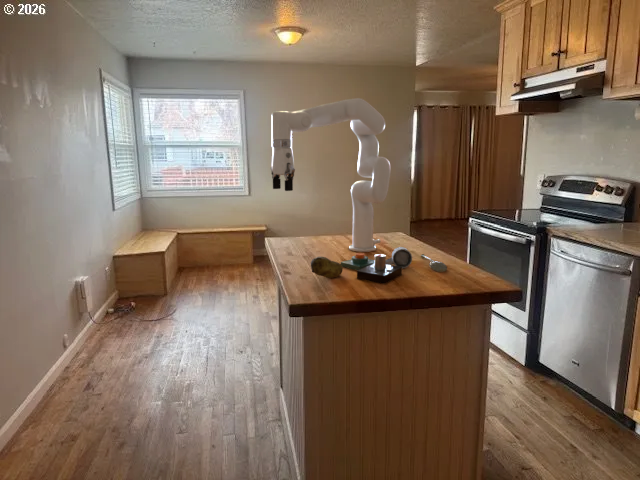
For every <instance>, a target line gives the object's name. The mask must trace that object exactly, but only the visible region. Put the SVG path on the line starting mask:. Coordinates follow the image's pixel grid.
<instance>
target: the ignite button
mask: <svg viewBox="0 0 640 480" xmlns="http://www.w3.org/2000/svg"><path fill="white" fill-rule="evenodd" d="M365 254H366V253H365V252H357V253H355V256H356V257H355V258H358V259H363V258H365V256H366V255H365Z"/></svg>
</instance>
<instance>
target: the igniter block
mask: <svg viewBox="0 0 640 480" xmlns="http://www.w3.org/2000/svg"><path fill="white" fill-rule="evenodd" d="M355 257H356V255H352V256H351V259H347V260H342V261H340V264H341V265H342V267H343V268H347V269H350V270H354V271H358V270H360V269H363V268H365V267H367V266H369V265H372V264H374V263H375V259H371V258H369V256H367V255H365V258H363V259H358V258H355Z"/></svg>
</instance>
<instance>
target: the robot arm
mask: <svg viewBox="0 0 640 480" xmlns="http://www.w3.org/2000/svg"><path fill="white" fill-rule="evenodd" d="M348 121H350V129H351V131H352V132H353V133H354V135H355V136H356V138H357V140H358V143H359V151H358V159H357V167H356V168H357V169H356V170H357V171H356V172H357V175H358V176H360V177H362V178H367V179H372V180H363V179H362V180H357V181H355V182H354V183H353V184H352V185H351V189H350V196H351V203H352V233H351V234H352V243H351V244H350V245H349V246H348V249H349V250H350V251H352V252H357V253H368V252H369V253H370V252H375V251H377V246H376V244H377V245H378V244H381V242H382V241H381V239H380V238H378V239H375V238H374V219H375V218H374V217H375V216H374V215H375V209H374V206H373V204H377V205H378V204H382V203H384V201H385V200H386V199H387V196H388V193H389V186H390V179H391V171H392V169H391V163H390V161H389V159H387V158H386V157H384V156H379V148H380V145H379V144H380V143H379V141H378V138H377V136H376V135H380V134H381V133H383V132H384V131H385V128H386V120H385V118H384V116H383V115H382V114H381V112H379V111H378V110H377V109H375V107H374V106H373V105H371V104H370V103H369V102H368V101H367V100H365V99H364V98H360V97H355V98H349V99H342V100H338V101H333V102H329V103H324V104H320V105H316V106H312V107H308V108H303V109H298V110H293V111H287V110H279V111H278V110H276V111H275V110H274V111H273V112H272V113H271V149H272V156H271V167H270V171H271V178H272V189H273V190H280V189H281V186H282V185H281V184H282V183H281V176H284V179H285V180H284V191H285V192H291V191H293V190H294V177H295V171H296V169H295V159H294V152H293V138H292V137H293V135H292V134H293V133H301V132H302V133H303V132H306V131H308V130H310V128H321V127H322V128H323V127H328V126H332V125H336V124H340V123H343V122H348Z"/></svg>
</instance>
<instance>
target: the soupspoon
mask: <svg viewBox="0 0 640 480" xmlns="http://www.w3.org/2000/svg"><path fill="white" fill-rule="evenodd" d="M420 258H422V259H424V258H425V259H427V260H429V261H430V263H428V266H429V267H430V269H432V270H433V271H436V272H438V273H439V272H440V273H441V272H442V273H443V272H446V271H447V270H448V266H447V264H445V263H443V261H437V260H435V261H434V260H433V259H432V258H430V257H429V256H426V255H425V253H422V254H420Z"/></svg>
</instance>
